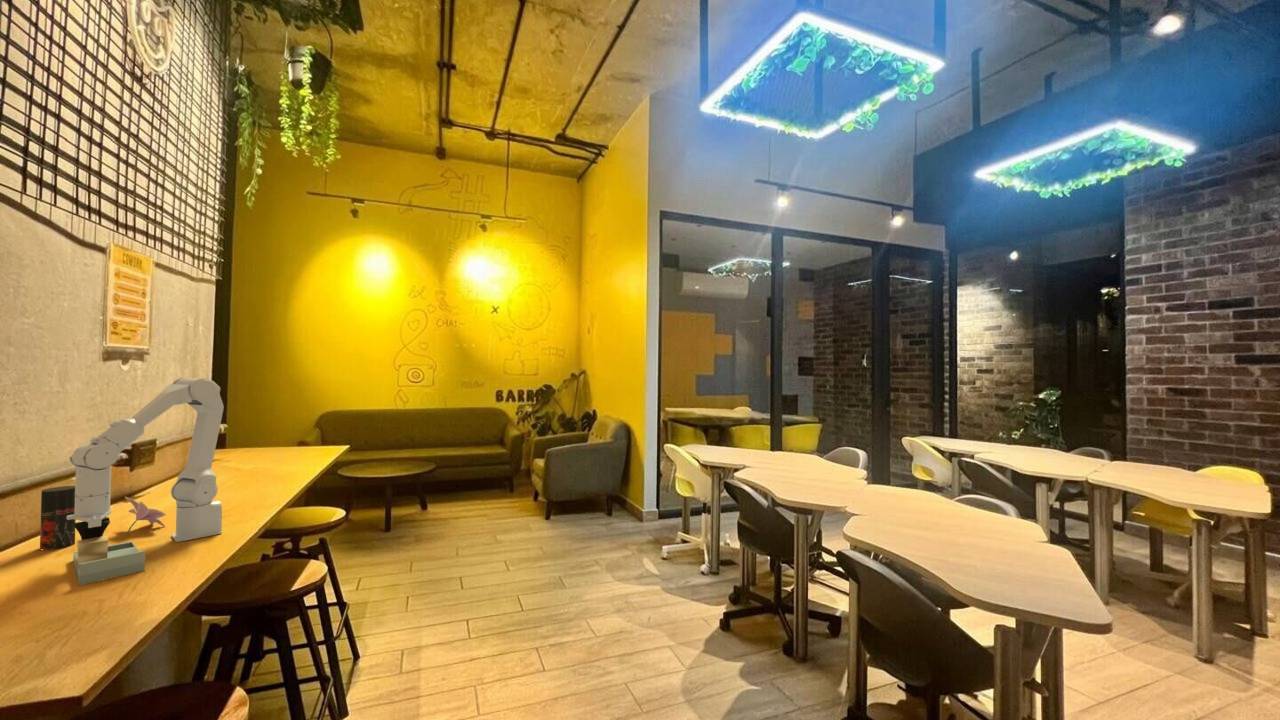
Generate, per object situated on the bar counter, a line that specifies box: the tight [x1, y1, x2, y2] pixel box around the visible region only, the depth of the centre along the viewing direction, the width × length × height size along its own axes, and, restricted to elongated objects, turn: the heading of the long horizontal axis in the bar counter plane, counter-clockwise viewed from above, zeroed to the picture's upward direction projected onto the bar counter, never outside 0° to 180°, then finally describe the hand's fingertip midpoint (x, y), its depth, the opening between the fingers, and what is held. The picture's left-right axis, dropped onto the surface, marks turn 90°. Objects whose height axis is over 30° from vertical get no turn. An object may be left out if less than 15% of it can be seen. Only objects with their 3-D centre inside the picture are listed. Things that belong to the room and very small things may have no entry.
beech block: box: [76, 535, 109, 565], centre depth 115 cm, size 4×4×4 cm
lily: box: [124, 496, 167, 535], centre depth 141 cm, size 12×12×10 cm
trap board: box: [73, 540, 146, 586], centre depth 116 cm, size 10×21×4 cm, turn 51°
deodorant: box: [39, 485, 77, 551], centre depth 128 cm, size 6×6×15 cm
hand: (91, 551), depth 117 cm, fingers closed
